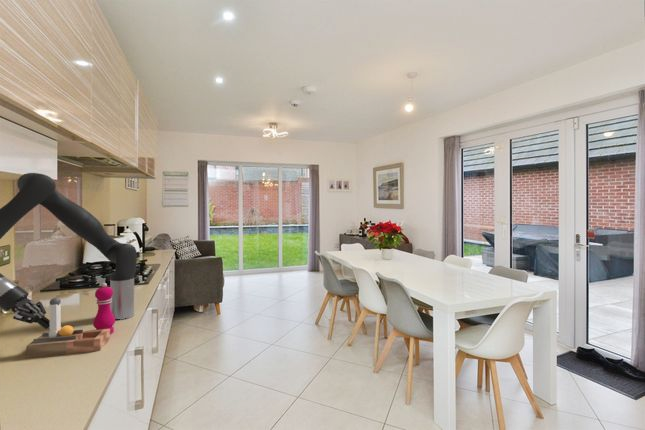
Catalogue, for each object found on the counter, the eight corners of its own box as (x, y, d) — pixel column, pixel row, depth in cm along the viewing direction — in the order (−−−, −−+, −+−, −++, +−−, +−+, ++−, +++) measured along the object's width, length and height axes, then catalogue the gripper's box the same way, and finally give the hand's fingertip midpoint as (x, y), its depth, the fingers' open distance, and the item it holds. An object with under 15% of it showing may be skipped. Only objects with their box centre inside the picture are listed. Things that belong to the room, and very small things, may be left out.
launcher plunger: (53, 335, 114) (52, 296, 114) (63, 335, 115) (63, 295, 115) (46, 340, 110) (46, 299, 110) (57, 339, 111) (57, 299, 111)
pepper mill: (91, 333, 127) (91, 282, 127) (112, 328, 132) (112, 280, 132) (95, 338, 122) (94, 286, 122) (117, 333, 127) (117, 283, 127)
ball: (59, 328, 115) (71, 321, 116) (66, 337, 115) (78, 330, 116) (54, 332, 111) (66, 325, 112) (61, 341, 111) (73, 334, 112)
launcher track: (42, 345, 116) (42, 331, 116) (110, 339, 122) (110, 325, 122) (26, 357, 106) (26, 342, 106) (100, 350, 112) (100, 335, 112)
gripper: (2, 290, 103) (49, 324, 106) (27, 280, 115) (67, 312, 119) (-19, 308, 101) (29, 342, 105) (8, 296, 114) (50, 327, 118)
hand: (50, 326), depth 112 cm, fingers closed
